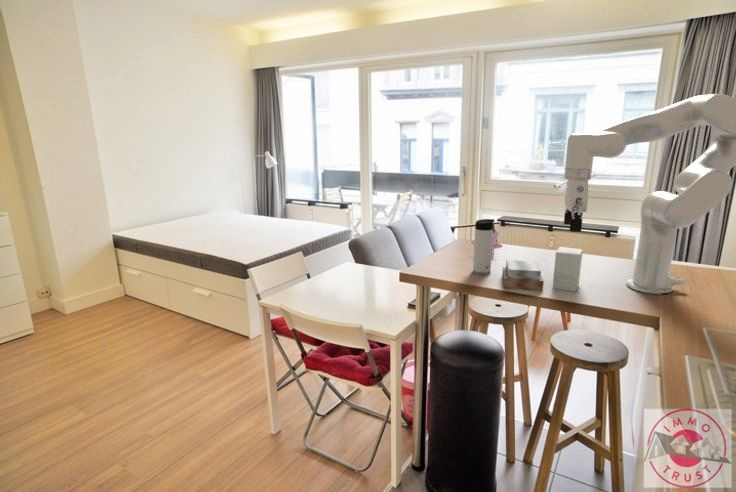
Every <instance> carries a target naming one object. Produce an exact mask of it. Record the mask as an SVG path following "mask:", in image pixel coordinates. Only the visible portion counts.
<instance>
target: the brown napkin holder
mask: <svg viewBox="0 0 736 492" xmlns="http://www.w3.org/2000/svg"><path fill="white" fill-rule="evenodd" d="M505 263H506V264H505V267H504V266H503V267H502V275H501V276H502V283H503V284H502V285H503V288H504V289H505V290H518V289H521V291H535V292H536V291H537V292H543V290H544V278H543V276H542V271H541V269H540V266H539V263H538V262H537V261H531V260H530V261H528V260H527V261H526V260H512V259H511V260H510V259H508V260H506V262H505Z"/></svg>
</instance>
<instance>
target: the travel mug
mask: <svg viewBox="0 0 736 492" xmlns="http://www.w3.org/2000/svg"><path fill="white" fill-rule="evenodd" d="M495 221H496V220H495V219H494V218H492V219H491V218H490V219H489V218H484V219H478V220H476V221H475V228H474V240H473V241H474V245H473V259H472V261H473V262H472V263H473V264H472V265H473V266H472V273H474V274H475V275H478V276H488V275H490V274H491V267H492V259H491V255H492V239H493V233H494V223H496V222H495Z"/></svg>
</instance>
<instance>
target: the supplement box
mask: <svg viewBox="0 0 736 492" xmlns="http://www.w3.org/2000/svg"><path fill="white" fill-rule="evenodd" d="M583 250H584V249H582V248H574V247H573V248H572V247H566V246H565V247H564V246H559V247H558V249H557V250H556V251H555V259H554V269H553V271H554V272H553V282H552V288H553V289H557V290H565V291H571V292H577V289H578V288H579V285H580V278H581V277H580V276H581V268H582V258H583Z"/></svg>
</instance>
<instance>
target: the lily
mask: <svg viewBox="0 0 736 492" xmlns="http://www.w3.org/2000/svg"><path fill="white" fill-rule="evenodd" d="M499 234H500V232H499V231H498V230H497V231H495V232H494V231H493V239H492V255H491V260H493V259H494V257H495V256H494V255H495V250H496V249H500V248H503V247H504V245H503V244H501V243H499V242H498V241H497V239H498V238H499V237H498V236H499ZM470 244H471V245H473V246H474V240H471V241H470Z"/></svg>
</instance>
